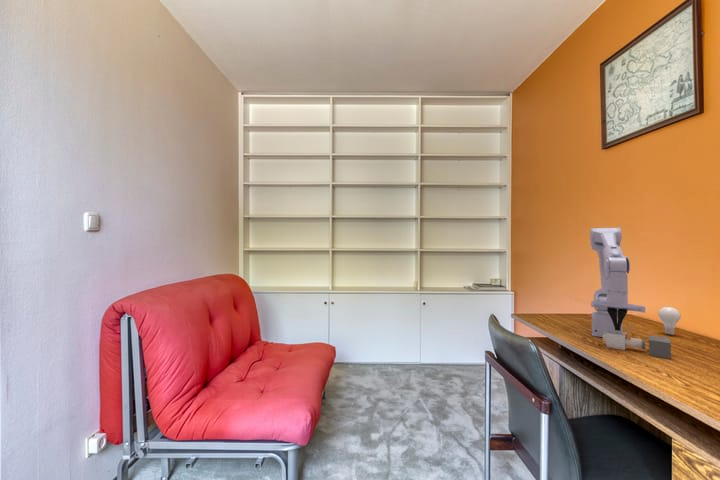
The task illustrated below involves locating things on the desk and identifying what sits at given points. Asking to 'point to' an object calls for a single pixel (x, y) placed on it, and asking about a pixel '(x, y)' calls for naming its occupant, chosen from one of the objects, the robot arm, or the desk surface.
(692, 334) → the desk surface
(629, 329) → the slip tube
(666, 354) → the socket
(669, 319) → the lightbulb
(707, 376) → the desk surface
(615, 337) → the light grey cube
